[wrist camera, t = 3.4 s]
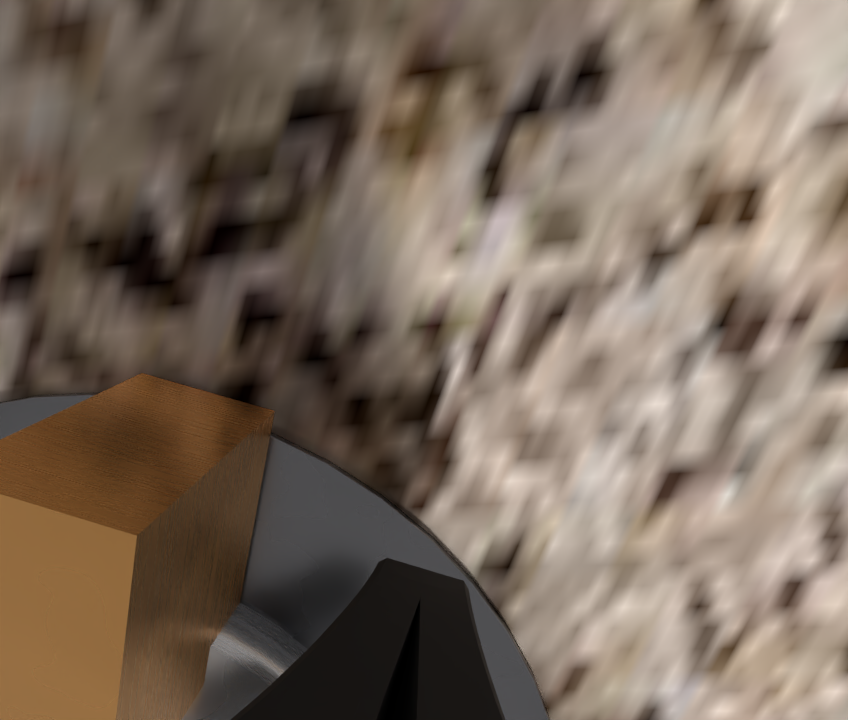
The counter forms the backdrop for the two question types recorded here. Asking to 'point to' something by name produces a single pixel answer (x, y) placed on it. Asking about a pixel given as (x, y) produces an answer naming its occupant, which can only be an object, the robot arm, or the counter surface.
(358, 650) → the robot arm
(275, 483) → the post base
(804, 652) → the counter surface
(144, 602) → the flange plate
